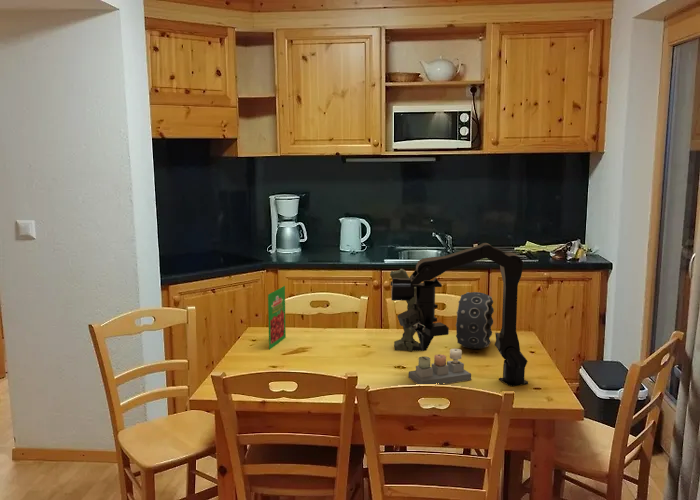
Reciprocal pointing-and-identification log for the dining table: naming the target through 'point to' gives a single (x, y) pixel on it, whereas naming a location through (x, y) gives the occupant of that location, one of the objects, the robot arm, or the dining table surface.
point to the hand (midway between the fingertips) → (424, 350)
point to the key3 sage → (424, 362)
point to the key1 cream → (455, 355)
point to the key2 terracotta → (440, 360)
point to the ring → (474, 320)
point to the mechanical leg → (407, 338)
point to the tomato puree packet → (276, 316)
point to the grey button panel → (440, 374)
